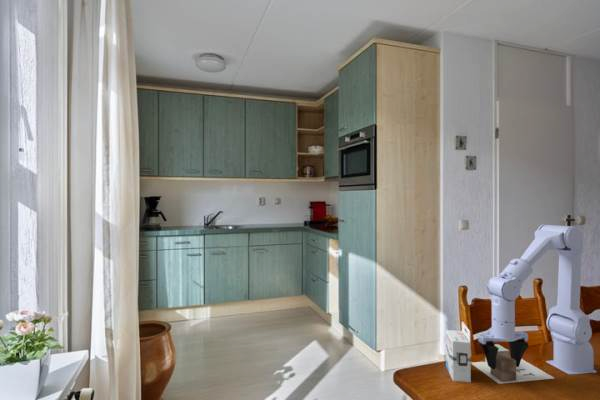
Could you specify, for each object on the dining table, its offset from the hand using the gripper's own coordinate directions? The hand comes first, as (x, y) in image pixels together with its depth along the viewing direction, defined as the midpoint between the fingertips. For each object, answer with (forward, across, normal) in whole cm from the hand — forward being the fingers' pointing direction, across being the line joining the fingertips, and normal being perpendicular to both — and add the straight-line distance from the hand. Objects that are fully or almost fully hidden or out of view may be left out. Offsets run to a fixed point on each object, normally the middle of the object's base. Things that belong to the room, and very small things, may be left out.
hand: (503, 366), depth 95 cm
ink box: (+4, +12, -4) cm, 13 cm away
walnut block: (+3, 0, 0) cm, 3 cm away
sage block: (+3, -3, -6) cm, 7 cm away
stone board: (+3, -5, -3) cm, 7 cm away
